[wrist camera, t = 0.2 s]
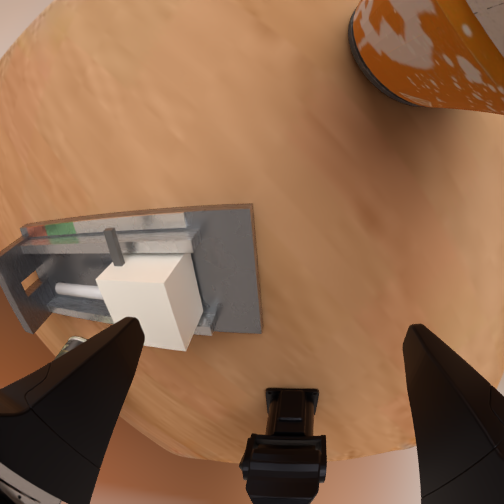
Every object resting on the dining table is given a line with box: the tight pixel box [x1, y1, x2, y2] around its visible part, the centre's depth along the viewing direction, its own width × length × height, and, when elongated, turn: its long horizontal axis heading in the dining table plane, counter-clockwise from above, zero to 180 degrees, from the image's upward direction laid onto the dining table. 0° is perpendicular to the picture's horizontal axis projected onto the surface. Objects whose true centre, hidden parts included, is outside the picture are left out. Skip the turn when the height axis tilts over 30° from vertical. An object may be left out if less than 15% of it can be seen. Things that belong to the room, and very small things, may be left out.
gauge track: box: [0, 204, 263, 336], centre depth 23 cm, size 12×28×7 cm, turn 95°
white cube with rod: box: [55, 227, 203, 351], centre depth 21 cm, size 9×15×5 cm, turn 95°
